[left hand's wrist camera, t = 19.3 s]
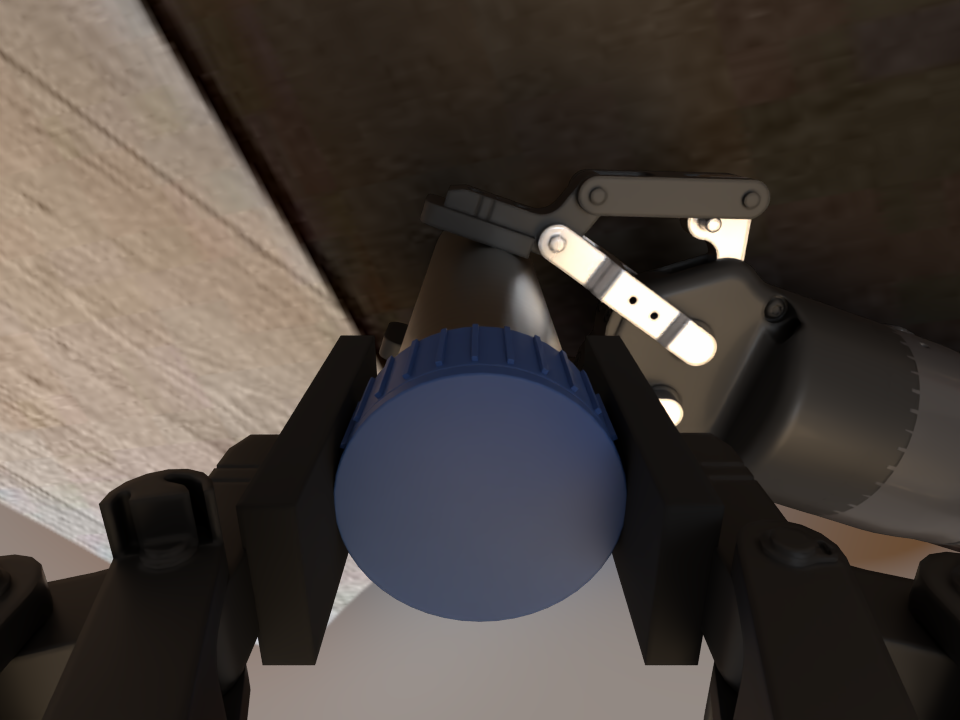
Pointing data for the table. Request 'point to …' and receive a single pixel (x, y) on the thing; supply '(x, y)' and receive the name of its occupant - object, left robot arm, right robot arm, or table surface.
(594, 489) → the lid
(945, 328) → the table surface
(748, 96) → the table surface
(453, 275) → the grey metal cylinder
